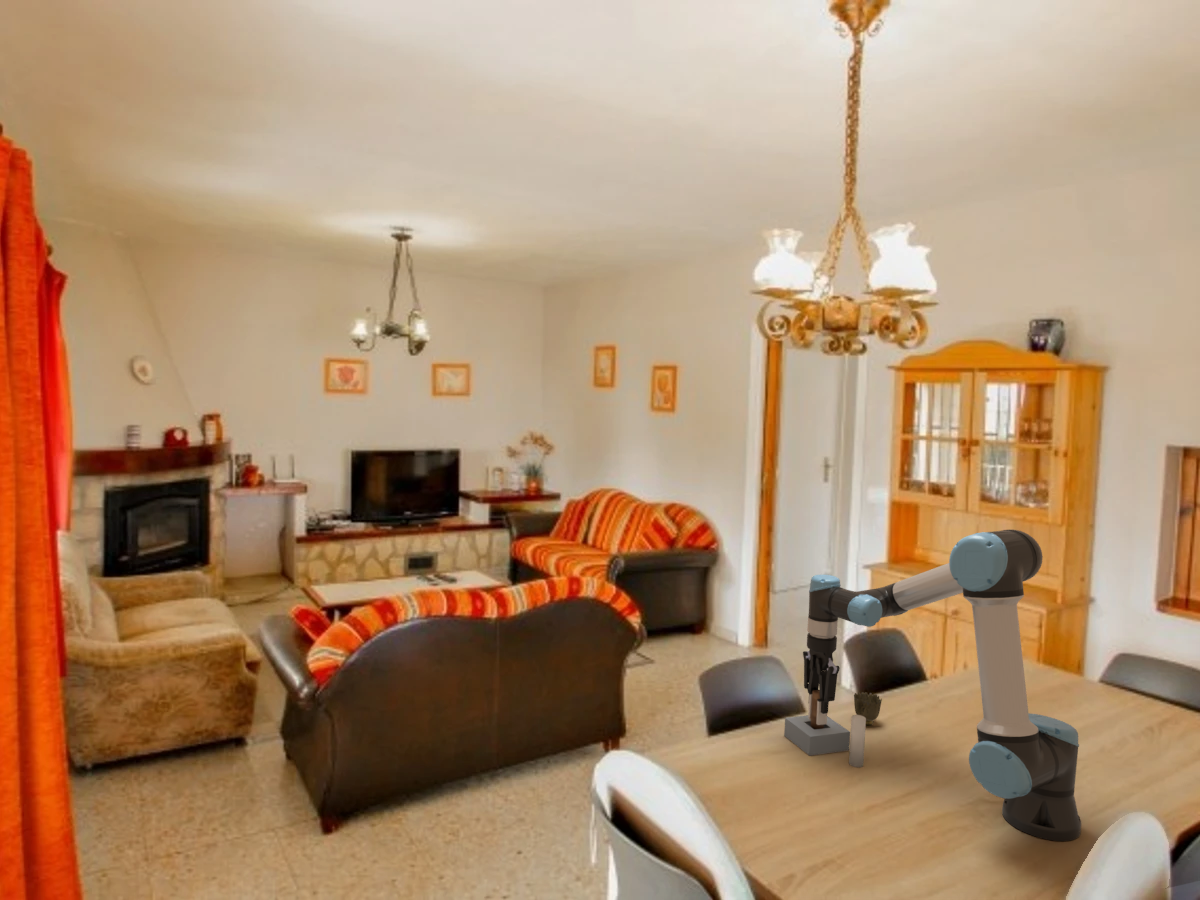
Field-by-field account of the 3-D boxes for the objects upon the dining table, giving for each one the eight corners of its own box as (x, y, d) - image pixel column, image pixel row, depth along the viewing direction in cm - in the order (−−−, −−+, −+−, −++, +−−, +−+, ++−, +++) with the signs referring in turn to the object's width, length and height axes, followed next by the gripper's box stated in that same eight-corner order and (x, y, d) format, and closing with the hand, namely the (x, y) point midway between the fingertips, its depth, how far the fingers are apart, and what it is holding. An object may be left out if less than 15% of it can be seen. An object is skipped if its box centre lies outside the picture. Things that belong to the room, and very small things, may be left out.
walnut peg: (825, 738, 210) (828, 694, 209) (814, 739, 209) (817, 695, 208) (818, 732, 213) (821, 689, 212) (807, 734, 212) (809, 690, 211)
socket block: (849, 750, 207) (850, 731, 207) (809, 755, 203) (810, 736, 203) (822, 731, 219) (823, 713, 218) (784, 735, 215) (785, 717, 214)
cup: (883, 730, 220) (885, 702, 220) (857, 729, 221) (858, 701, 220) (875, 719, 228) (876, 692, 227) (849, 718, 228) (850, 690, 227)
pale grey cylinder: (866, 766, 199) (868, 719, 198) (854, 767, 198) (857, 721, 197) (857, 760, 202) (860, 714, 201) (846, 761, 201) (848, 715, 200)
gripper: (853, 642, 202) (848, 732, 204) (816, 624, 218) (812, 707, 219) (827, 644, 200) (822, 735, 202) (792, 626, 215) (788, 710, 217)
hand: (817, 720), depth 211 cm, fingers closed on walnut peg, 3 cm apart
